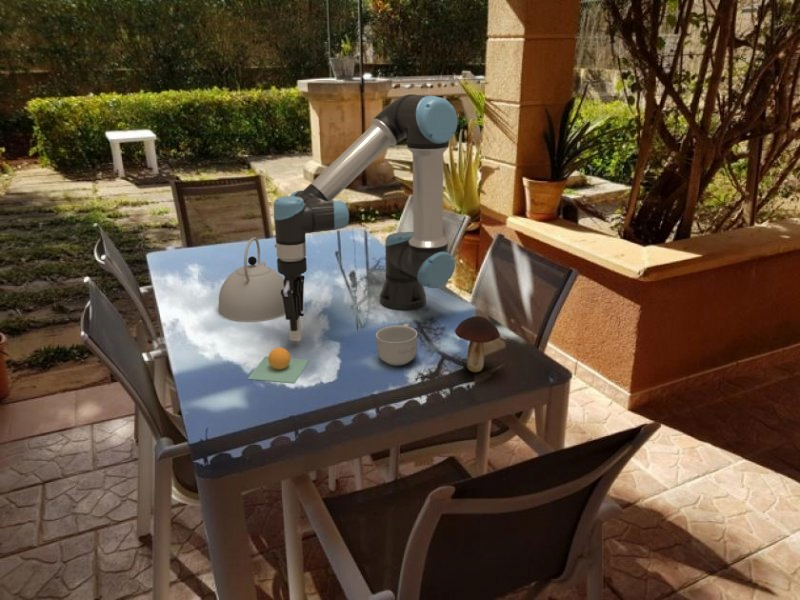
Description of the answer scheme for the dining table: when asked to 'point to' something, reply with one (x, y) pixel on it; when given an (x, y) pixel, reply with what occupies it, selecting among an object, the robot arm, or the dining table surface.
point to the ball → (279, 358)
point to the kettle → (252, 292)
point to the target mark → (278, 371)
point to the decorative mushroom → (476, 339)
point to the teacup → (397, 344)
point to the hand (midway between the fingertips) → (296, 339)
